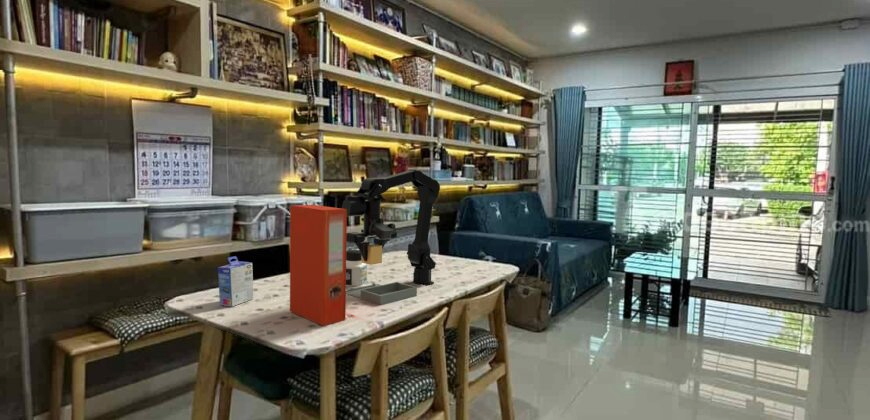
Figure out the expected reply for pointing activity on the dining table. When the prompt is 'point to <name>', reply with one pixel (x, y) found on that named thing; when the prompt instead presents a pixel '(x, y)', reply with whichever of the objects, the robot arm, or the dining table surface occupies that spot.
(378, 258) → the block
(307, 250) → the file binder
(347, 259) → the container
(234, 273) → the ink cartridge box
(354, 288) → the lid
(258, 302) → the dining table surface
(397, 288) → the case
